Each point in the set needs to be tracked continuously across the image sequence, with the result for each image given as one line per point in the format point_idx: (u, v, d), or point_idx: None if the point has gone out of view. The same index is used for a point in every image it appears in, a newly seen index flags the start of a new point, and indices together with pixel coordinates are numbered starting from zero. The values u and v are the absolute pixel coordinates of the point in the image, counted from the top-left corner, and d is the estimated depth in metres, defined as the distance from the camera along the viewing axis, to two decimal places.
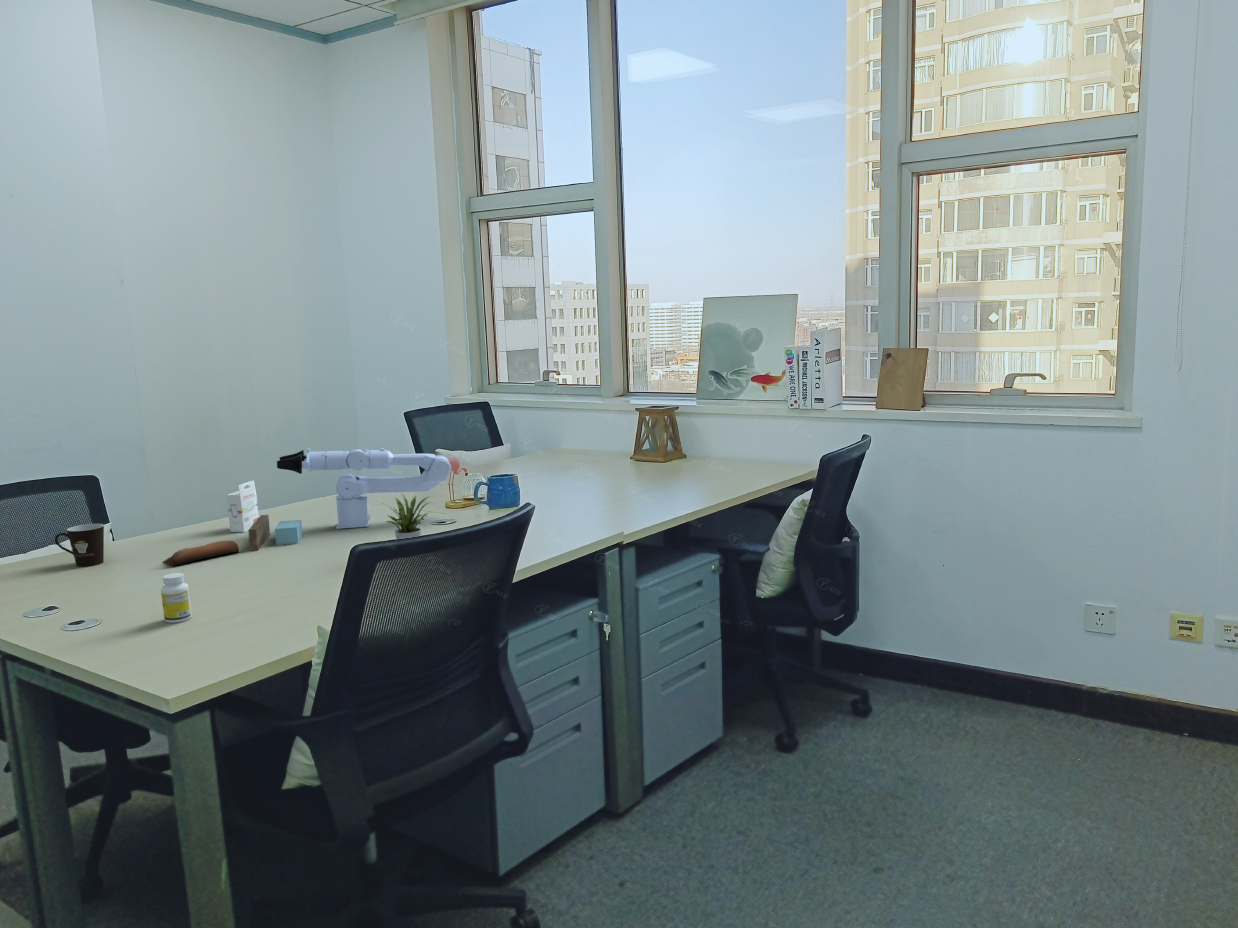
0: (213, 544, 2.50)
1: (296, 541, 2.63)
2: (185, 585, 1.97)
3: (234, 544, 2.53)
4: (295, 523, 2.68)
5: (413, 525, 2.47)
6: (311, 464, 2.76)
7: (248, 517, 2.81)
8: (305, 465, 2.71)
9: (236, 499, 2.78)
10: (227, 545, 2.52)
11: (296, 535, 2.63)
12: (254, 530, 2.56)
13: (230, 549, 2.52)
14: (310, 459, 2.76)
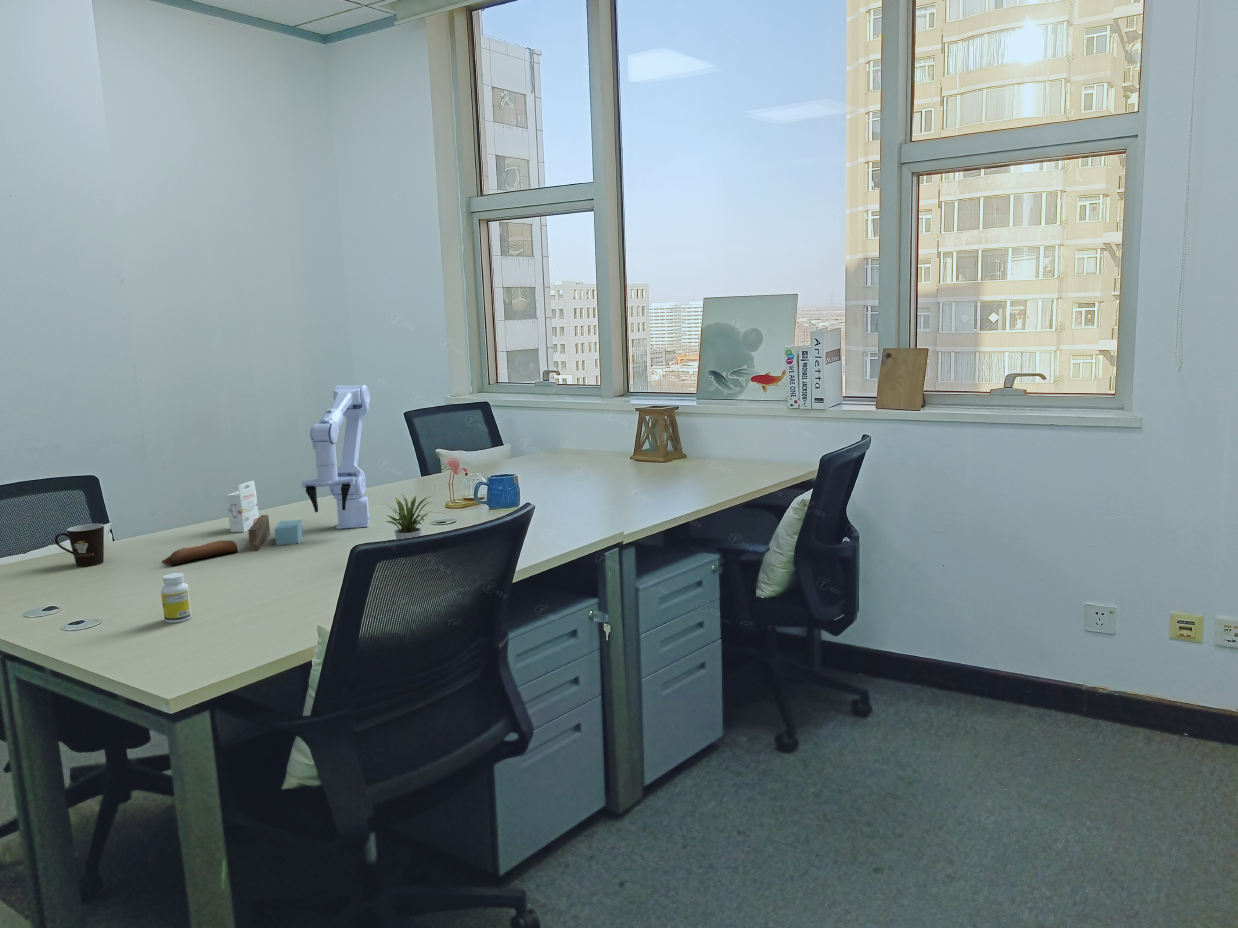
0: (212, 544, 2.51)
1: (296, 541, 2.63)
2: (185, 585, 1.97)
3: (233, 544, 2.54)
4: (295, 523, 2.68)
5: (413, 525, 2.47)
6: (337, 477, 2.68)
7: (248, 517, 2.81)
8: (353, 481, 2.69)
9: (236, 498, 2.78)
10: (226, 544, 2.52)
11: (296, 535, 2.63)
12: (254, 530, 2.56)
13: (229, 549, 2.53)
14: (337, 478, 2.67)
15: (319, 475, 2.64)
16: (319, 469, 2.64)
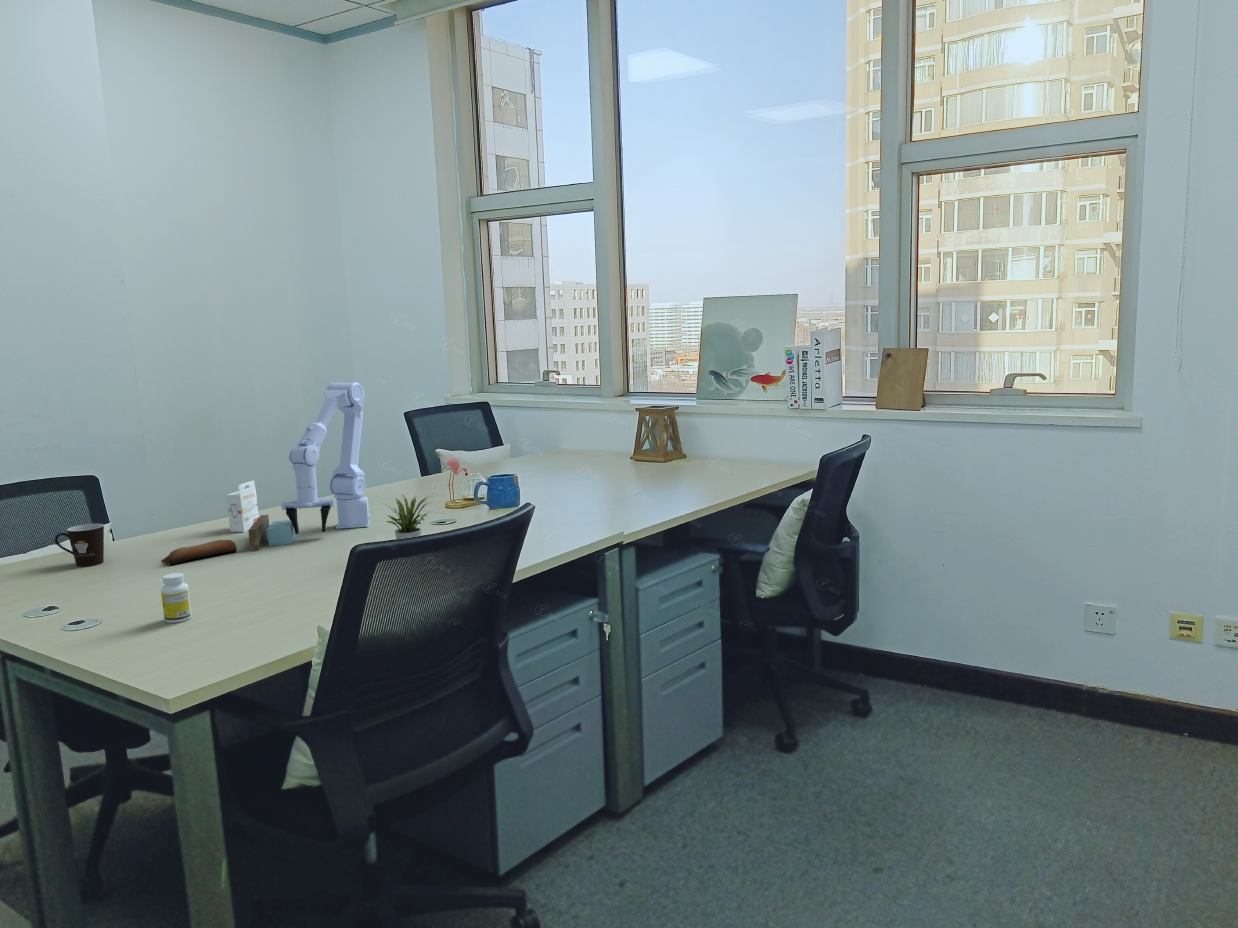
0: (211, 543, 2.52)
1: (289, 541, 2.63)
2: (185, 585, 1.97)
3: (232, 543, 2.54)
4: (288, 523, 2.67)
5: (413, 525, 2.47)
6: None
7: (248, 517, 2.81)
8: (334, 502, 2.68)
9: (236, 499, 2.78)
10: (225, 544, 2.53)
11: (289, 535, 2.62)
12: (254, 530, 2.56)
13: (228, 548, 2.53)
14: (317, 500, 2.66)
15: (299, 497, 2.64)
16: (299, 491, 2.64)
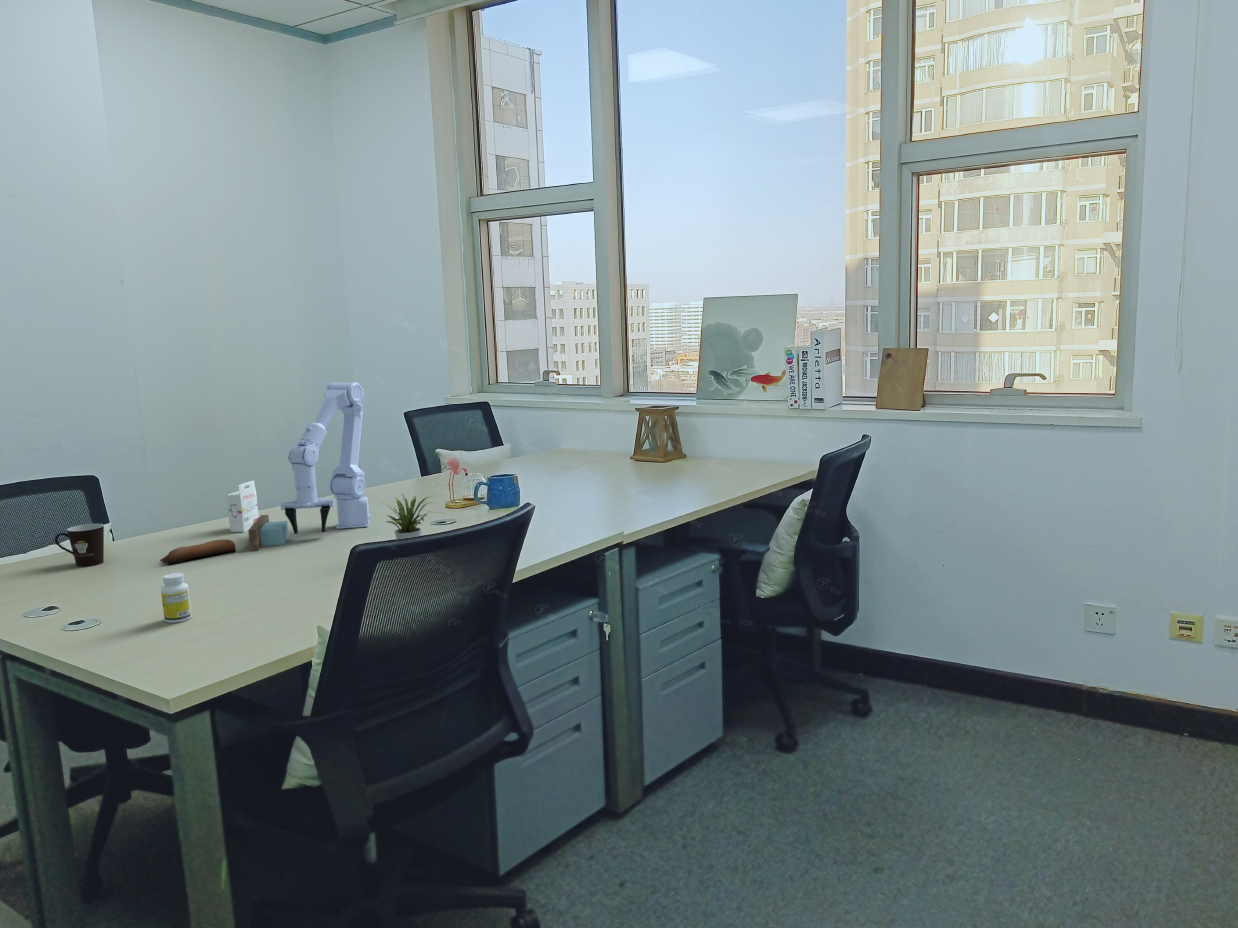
0: (210, 543, 2.52)
1: (281, 542, 2.62)
2: (185, 585, 1.97)
3: (231, 543, 2.55)
4: (281, 524, 2.67)
5: (413, 525, 2.47)
6: (317, 499, 2.68)
7: (248, 517, 2.81)
8: (333, 503, 2.68)
9: (236, 498, 2.78)
10: (224, 543, 2.53)
11: (281, 536, 2.62)
12: (254, 530, 2.56)
13: (227, 548, 2.53)
14: (316, 500, 2.66)
15: (298, 497, 2.64)
16: (298, 491, 2.64)
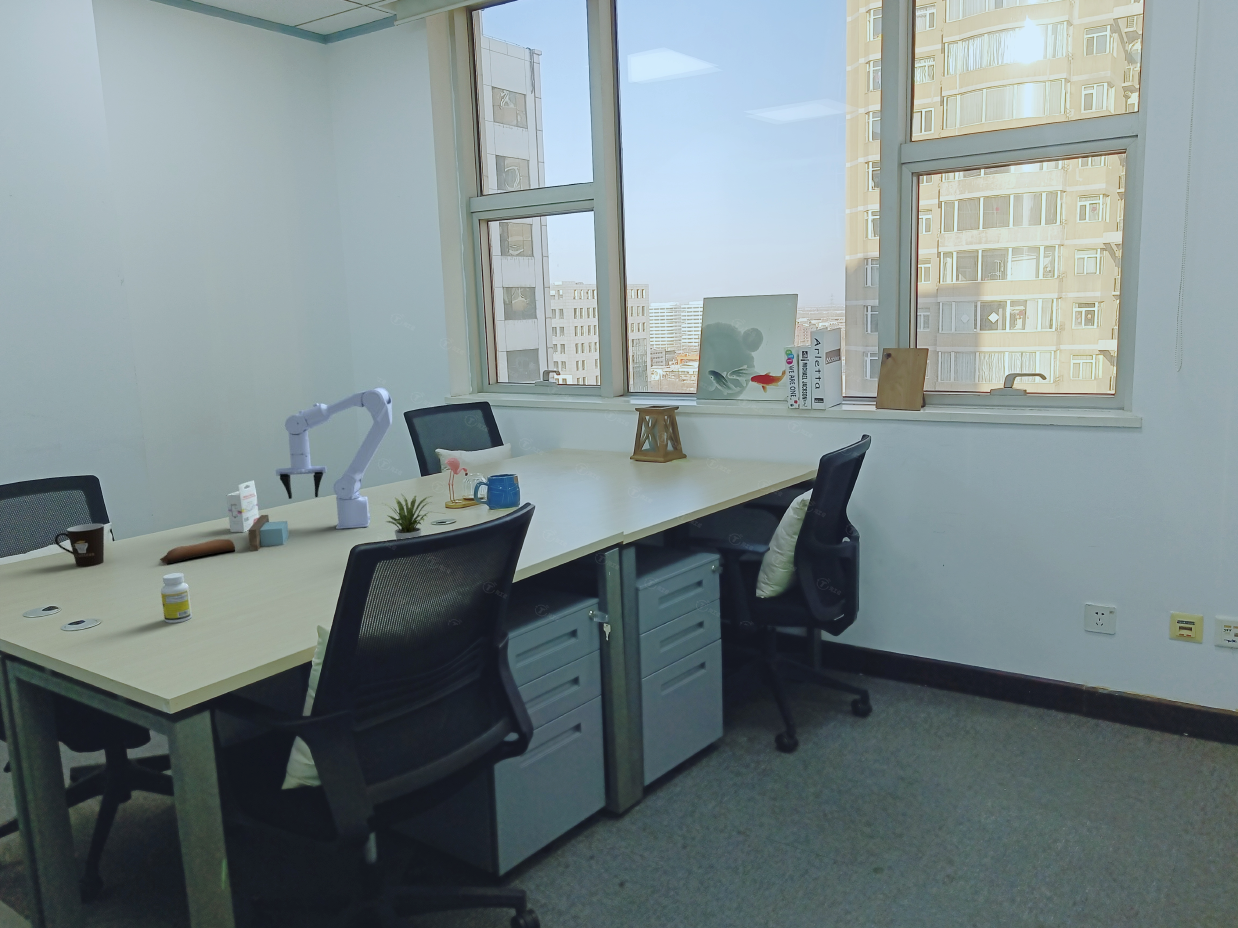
0: (209, 542, 2.52)
1: (281, 542, 2.62)
2: (185, 585, 1.97)
3: (230, 543, 2.55)
4: (281, 524, 2.67)
5: (413, 525, 2.47)
6: (310, 465, 2.82)
7: (248, 517, 2.81)
8: (326, 469, 2.83)
9: (236, 498, 2.78)
10: (223, 543, 2.54)
11: (281, 536, 2.62)
12: (254, 530, 2.56)
13: (226, 548, 2.54)
14: (310, 467, 2.80)
15: (293, 463, 2.78)
16: (293, 458, 2.78)
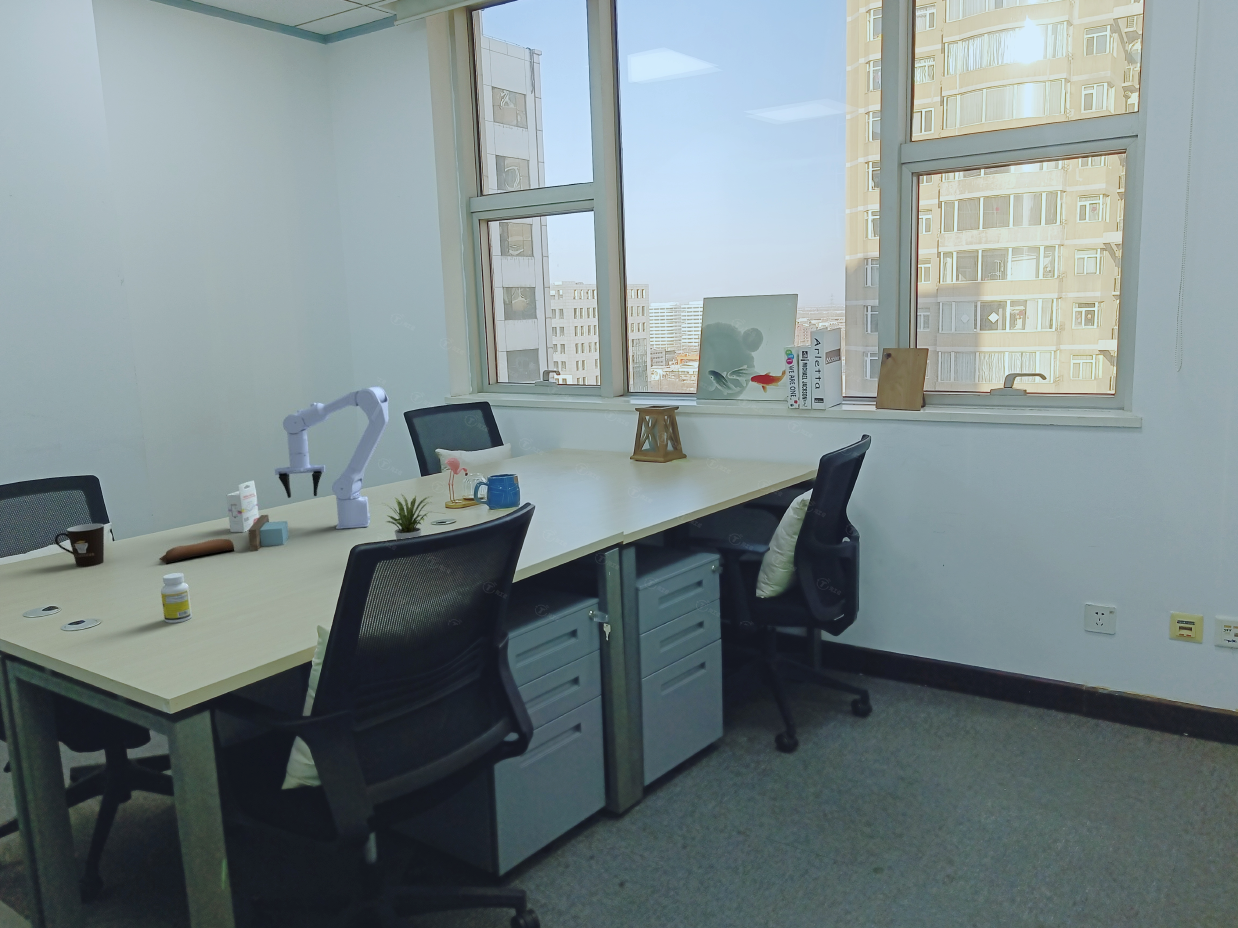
0: (208, 542, 2.53)
1: (281, 542, 2.62)
2: (185, 585, 1.97)
3: (229, 542, 2.55)
4: (281, 524, 2.67)
5: (413, 525, 2.47)
6: (309, 464, 2.83)
7: (248, 517, 2.81)
8: (324, 468, 2.84)
9: (236, 498, 2.78)
10: (222, 543, 2.54)
11: (281, 536, 2.62)
12: (254, 530, 2.56)
13: (225, 547, 2.54)
14: (308, 466, 2.82)
15: (291, 463, 2.80)
16: (291, 457, 2.79)
